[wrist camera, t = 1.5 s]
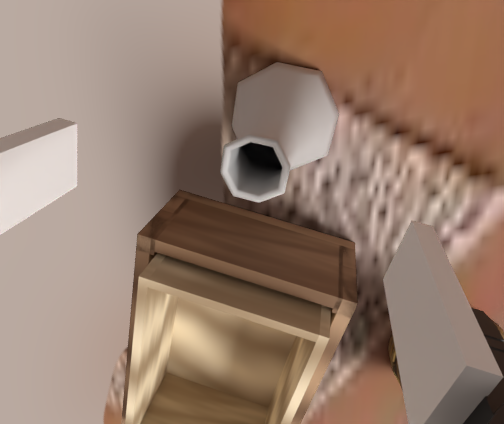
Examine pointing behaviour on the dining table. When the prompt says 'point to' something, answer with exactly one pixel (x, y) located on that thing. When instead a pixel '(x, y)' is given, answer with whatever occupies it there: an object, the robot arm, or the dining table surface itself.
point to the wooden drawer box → (254, 262)
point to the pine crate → (219, 348)
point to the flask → (277, 129)
